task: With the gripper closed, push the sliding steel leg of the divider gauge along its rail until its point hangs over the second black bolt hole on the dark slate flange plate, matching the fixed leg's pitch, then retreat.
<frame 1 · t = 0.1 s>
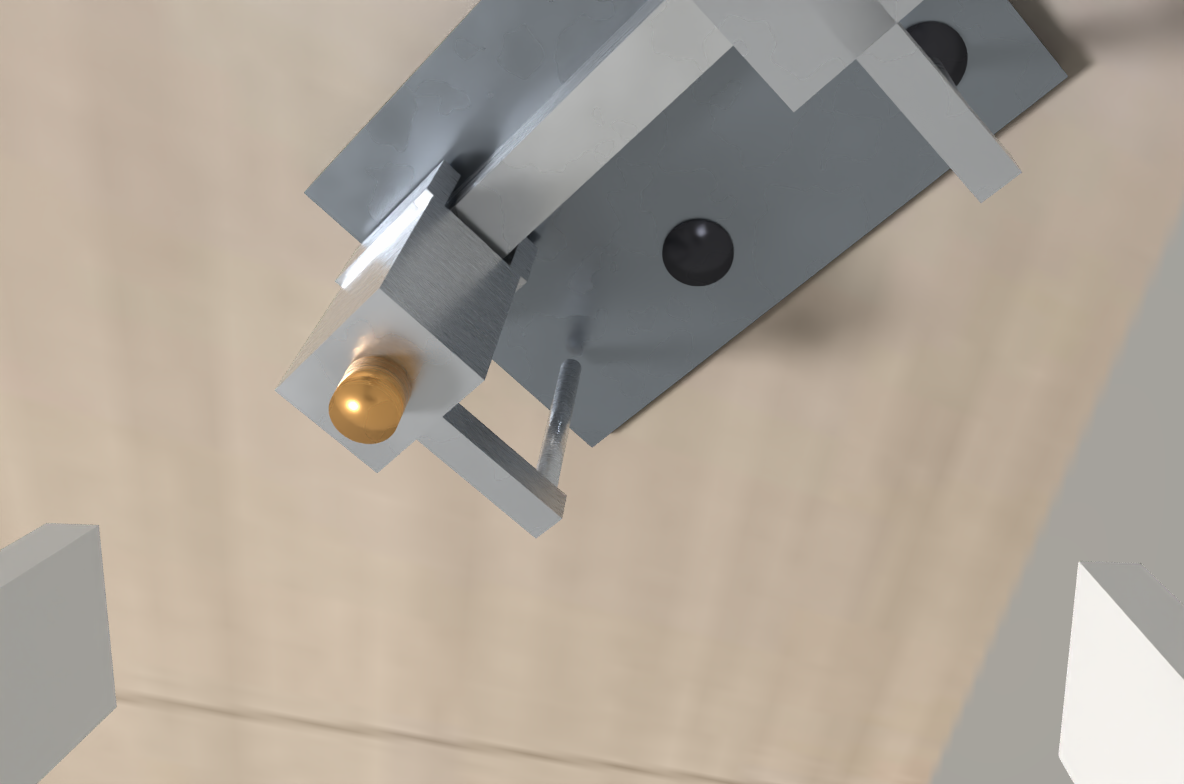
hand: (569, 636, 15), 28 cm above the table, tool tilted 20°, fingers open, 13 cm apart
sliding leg: (464, 367, 37), point 7 cm above the table, slide at 0.0 cm
flange plate: (664, 128, 40), on the table
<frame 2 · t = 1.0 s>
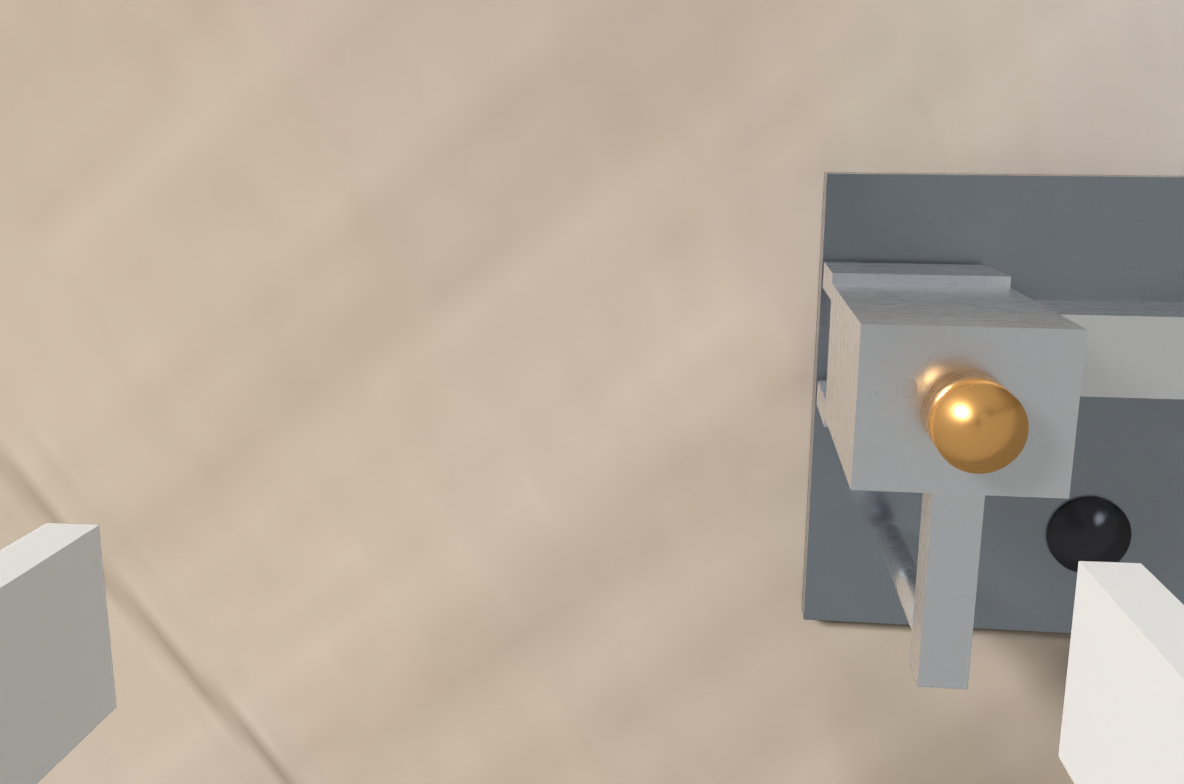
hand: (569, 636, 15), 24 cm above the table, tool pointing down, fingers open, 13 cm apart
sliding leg: (927, 459, 31), point 7 cm above the table, slide at 0.0 cm
flange plate: (1155, 410, 37), on the table
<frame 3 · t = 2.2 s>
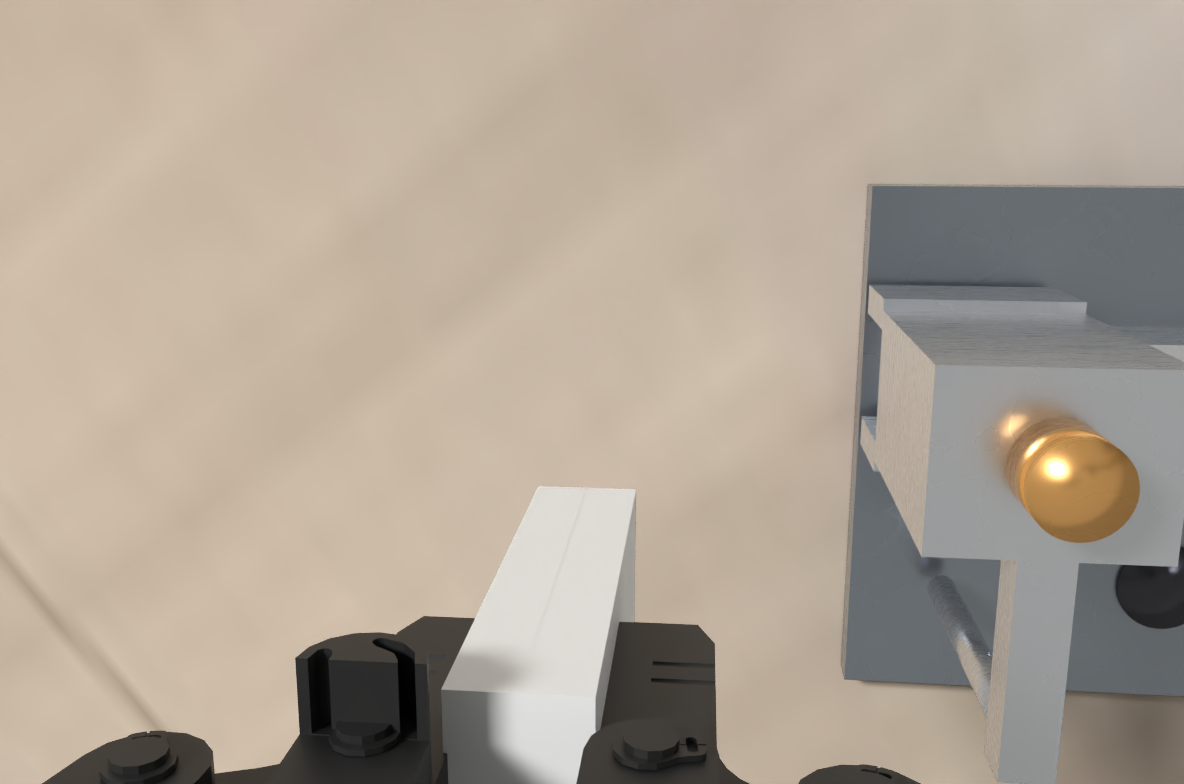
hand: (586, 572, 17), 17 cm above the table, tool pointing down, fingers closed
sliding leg: (997, 512, 27), point 7 cm above the table, slide at 0.0 cm
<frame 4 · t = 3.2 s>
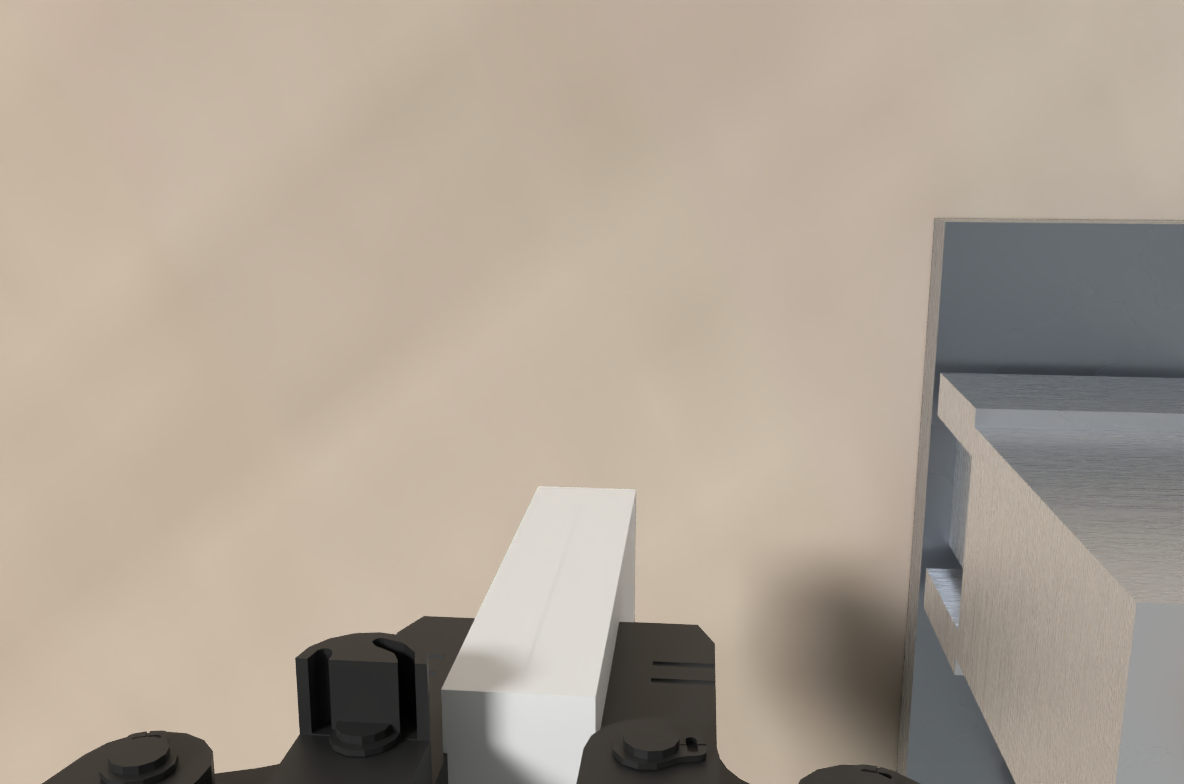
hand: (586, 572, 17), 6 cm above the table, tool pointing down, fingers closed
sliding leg: (1180, 781, 16), point 7 cm above the table, slide at 0.0 cm
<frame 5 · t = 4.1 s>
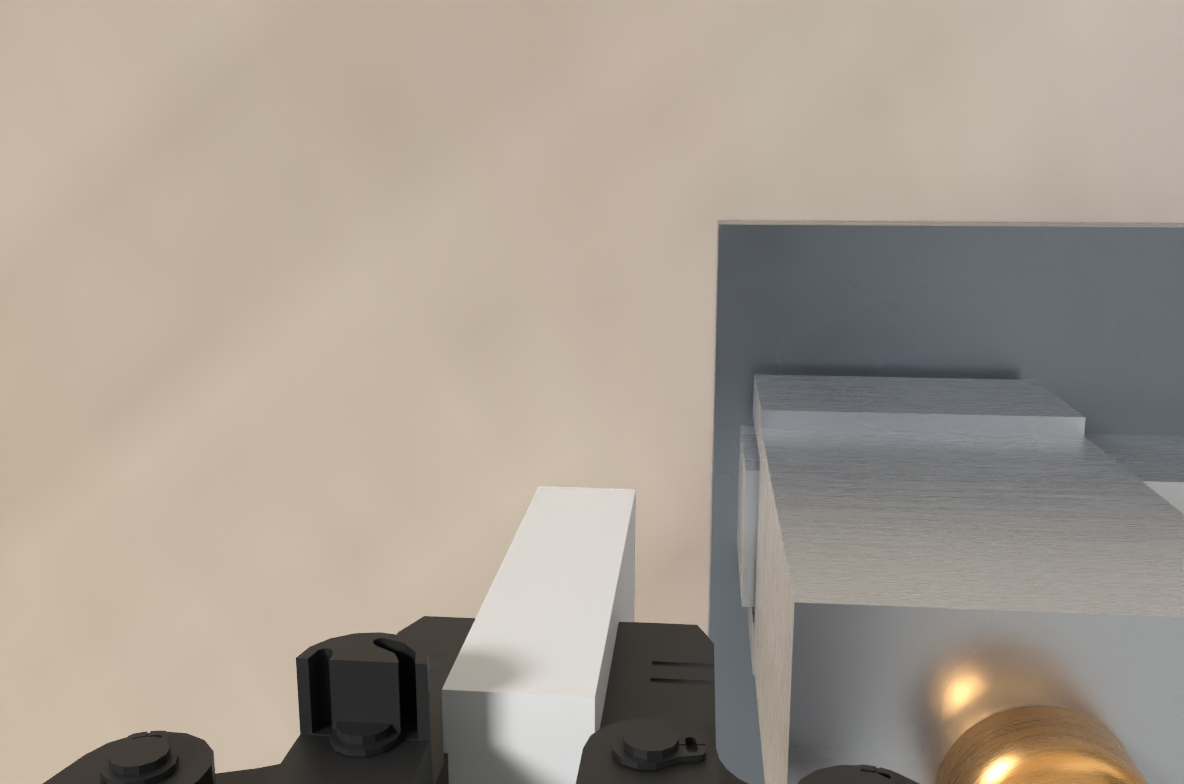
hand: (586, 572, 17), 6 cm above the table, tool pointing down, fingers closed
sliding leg: (938, 780, 16), point 7 cm above the table, slide at 0.7 cm, touching gripper
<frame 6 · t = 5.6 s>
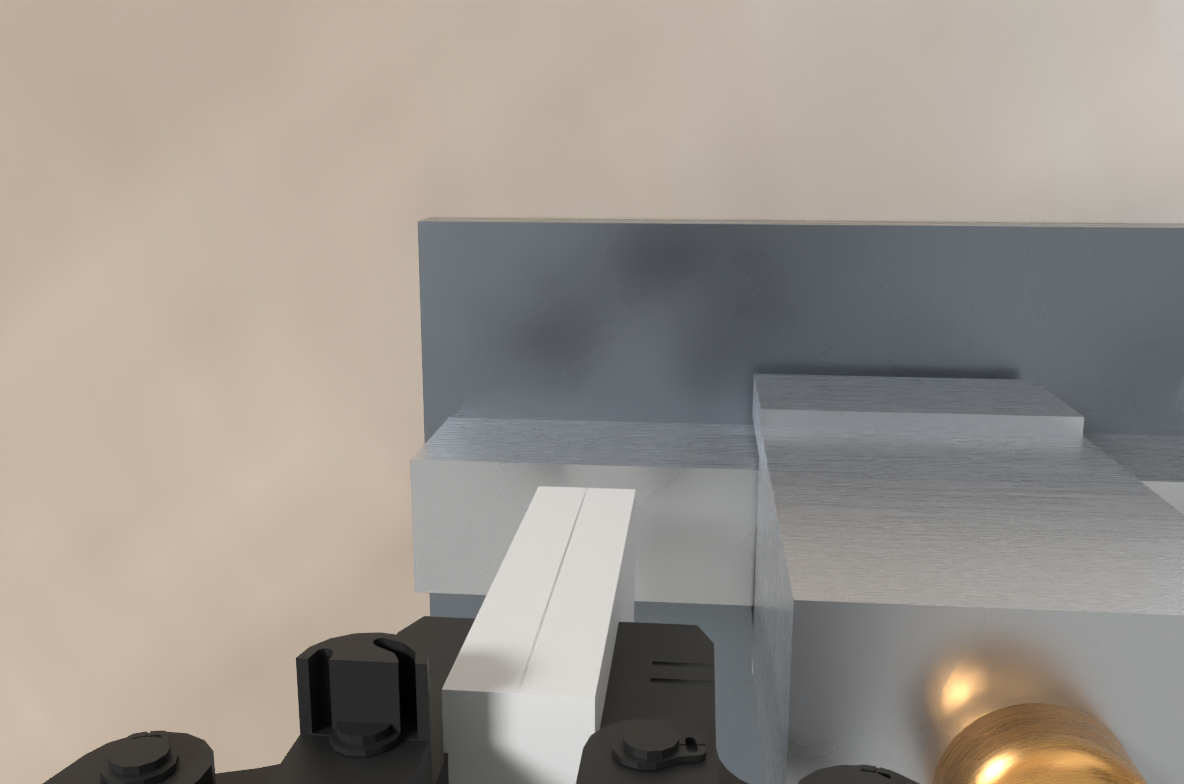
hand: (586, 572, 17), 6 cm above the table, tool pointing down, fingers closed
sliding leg: (937, 778, 16), point 7 cm above the table, slide at 6.4 cm, touching gripper
flange plate: (974, 595, 23), on the table
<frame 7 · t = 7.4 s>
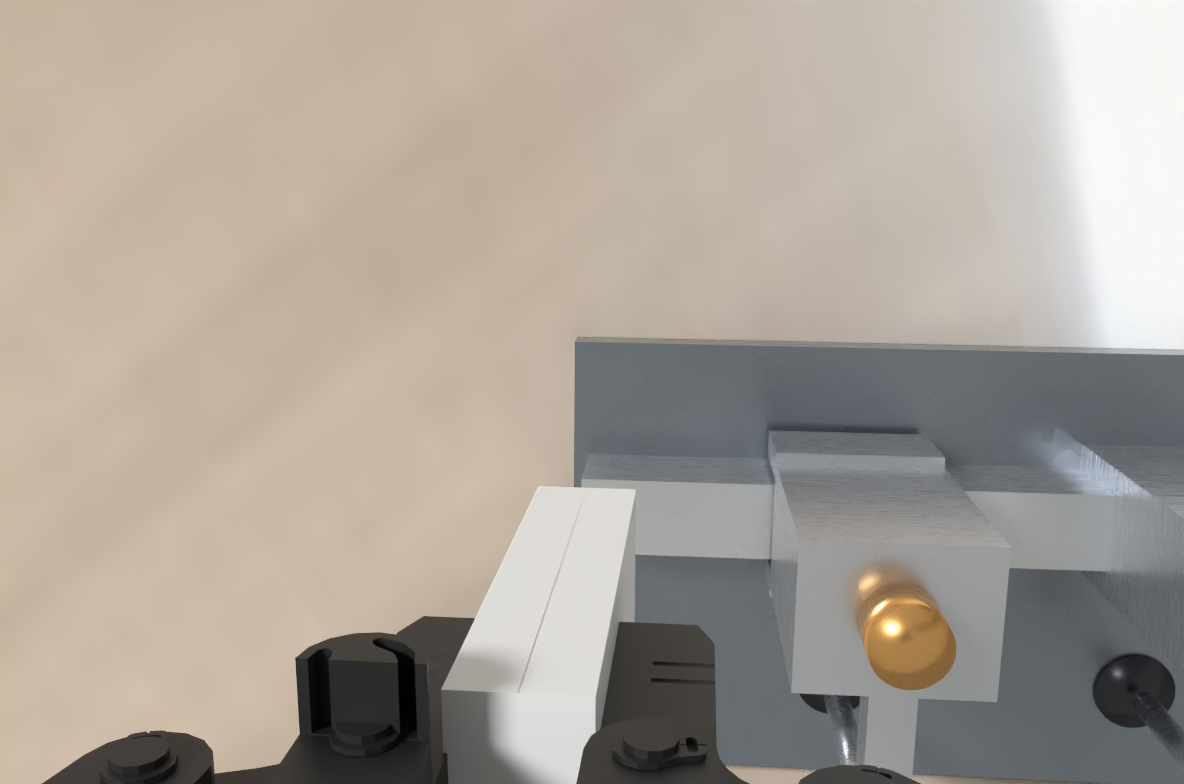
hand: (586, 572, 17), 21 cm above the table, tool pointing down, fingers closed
fixed leg: (1142, 496, 38), resting on flange plate
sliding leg: (866, 640, 32), point 7 cm above the table, slide at 6.4 cm
flange plate: (894, 559, 39), on the table
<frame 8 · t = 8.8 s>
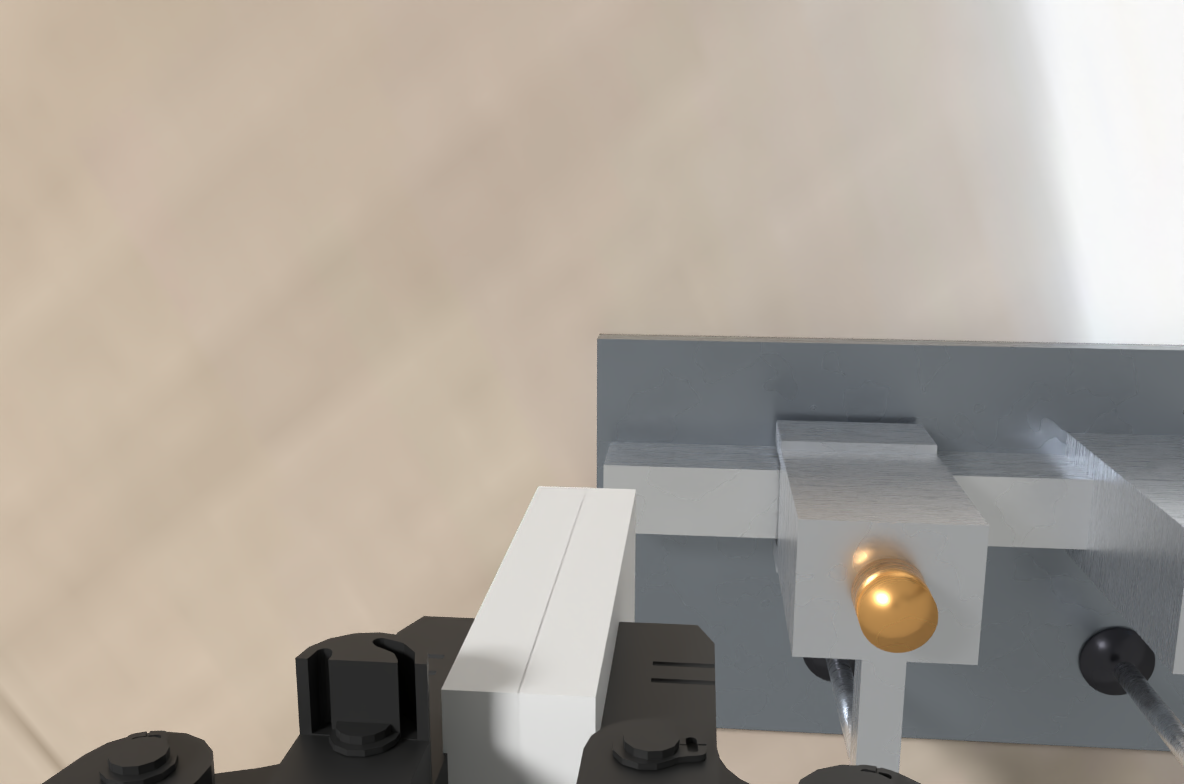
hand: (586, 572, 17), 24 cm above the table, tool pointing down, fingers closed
fixed leg: (1125, 481, 41), resting on flange plate
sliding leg: (863, 611, 35), point 7 cm above the table, slide at 6.4 cm
flange plate: (894, 539, 42), on the table
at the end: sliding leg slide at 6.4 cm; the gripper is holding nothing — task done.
